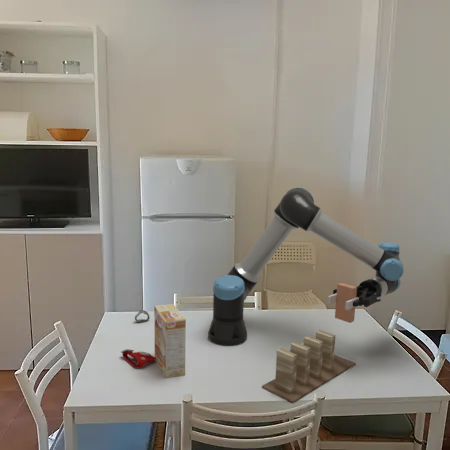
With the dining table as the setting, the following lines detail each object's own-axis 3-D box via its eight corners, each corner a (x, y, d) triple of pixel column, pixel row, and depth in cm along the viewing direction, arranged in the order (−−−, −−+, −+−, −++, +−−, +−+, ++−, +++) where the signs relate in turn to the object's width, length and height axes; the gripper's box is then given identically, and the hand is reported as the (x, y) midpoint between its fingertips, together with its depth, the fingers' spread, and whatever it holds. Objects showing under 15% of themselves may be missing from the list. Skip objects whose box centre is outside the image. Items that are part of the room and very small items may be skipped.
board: (292, 403, 138) (292, 401, 138) (261, 387, 147) (261, 385, 147) (355, 364, 163) (356, 362, 163) (326, 352, 172) (326, 351, 172)
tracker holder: (156, 352, 167) (155, 359, 157) (153, 365, 166) (152, 372, 156) (123, 345, 166) (119, 351, 156) (119, 357, 165) (116, 364, 155)
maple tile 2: (317, 378, 152) (319, 343, 150) (301, 371, 156) (303, 337, 154) (321, 375, 154) (323, 341, 151) (306, 369, 158) (308, 335, 156)
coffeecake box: (153, 358, 164) (153, 305, 161) (173, 355, 167) (173, 303, 163) (164, 378, 150) (164, 321, 147) (185, 375, 153) (186, 318, 150)
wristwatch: (150, 321, 196) (150, 310, 195) (136, 324, 193) (136, 313, 192) (147, 319, 199) (147, 307, 198) (133, 321, 196) (133, 310, 195)
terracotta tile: (350, 322, 157) (353, 288, 155) (334, 317, 161) (337, 284, 159) (354, 321, 159) (356, 287, 157) (338, 316, 163) (341, 282, 161)
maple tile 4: (290, 393, 142) (292, 357, 140) (275, 386, 146) (276, 350, 144) (295, 391, 144) (297, 354, 142) (279, 383, 148) (281, 348, 146)
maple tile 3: (304, 385, 147) (306, 350, 145) (288, 378, 151) (290, 343, 149) (308, 383, 149) (310, 347, 147) (293, 376, 153) (295, 341, 151)
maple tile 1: (329, 371, 157) (331, 337, 155) (314, 365, 161) (316, 332, 159) (333, 369, 159) (335, 335, 156) (318, 362, 163) (320, 330, 160)
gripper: (396, 306, 165) (362, 322, 149) (348, 292, 179) (312, 306, 163) (398, 285, 164) (364, 299, 148) (350, 273, 177) (314, 285, 161)
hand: (337, 303), depth 155 cm, fingers closed on terracotta tile, 6 cm apart
